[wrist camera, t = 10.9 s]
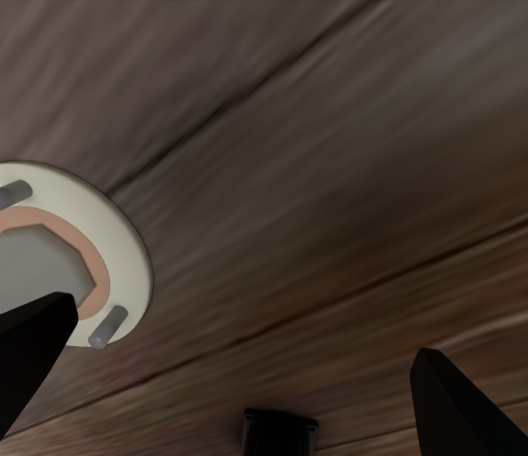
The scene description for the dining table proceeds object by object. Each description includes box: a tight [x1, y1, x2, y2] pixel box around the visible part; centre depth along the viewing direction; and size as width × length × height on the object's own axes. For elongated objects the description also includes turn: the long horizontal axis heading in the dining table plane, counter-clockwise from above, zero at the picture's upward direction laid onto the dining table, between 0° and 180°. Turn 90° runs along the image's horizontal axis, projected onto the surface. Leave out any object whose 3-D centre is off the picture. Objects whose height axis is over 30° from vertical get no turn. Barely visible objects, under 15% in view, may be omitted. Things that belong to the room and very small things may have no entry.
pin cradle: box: [0, 161, 153, 349], centre depth 22 cm, size 15×15×4 cm
